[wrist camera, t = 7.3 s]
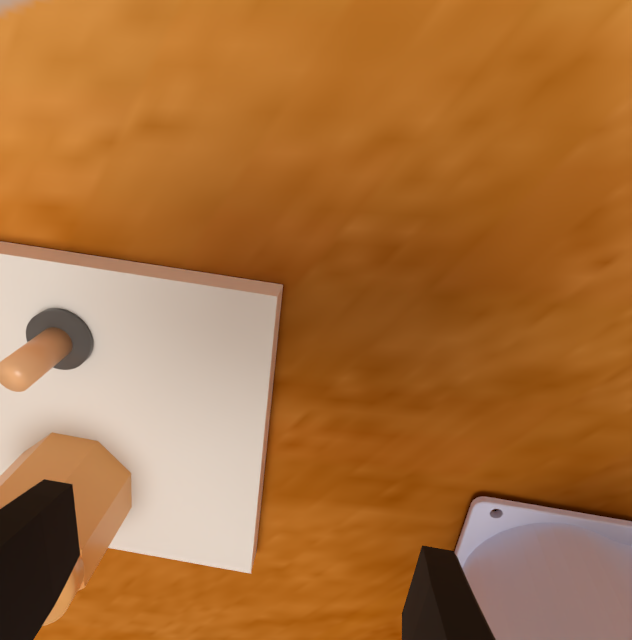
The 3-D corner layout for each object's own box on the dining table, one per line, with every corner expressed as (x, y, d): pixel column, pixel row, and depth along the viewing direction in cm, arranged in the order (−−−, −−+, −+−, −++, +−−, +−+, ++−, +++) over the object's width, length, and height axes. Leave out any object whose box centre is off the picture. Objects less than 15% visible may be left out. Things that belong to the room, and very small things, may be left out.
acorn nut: (131, 446, 21) (49, 565, 16) (133, 530, 23) (61, 661, 18) (18, 424, 21) (-101, 535, 16) (30, 510, 23) (-72, 633, 18)
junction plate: (283, 284, 18) (259, 332, 15) (256, 552, 24) (234, 634, 21) (-128, 221, 19) (-249, 252, 15) (-58, 495, 25) (-133, 565, 21)
